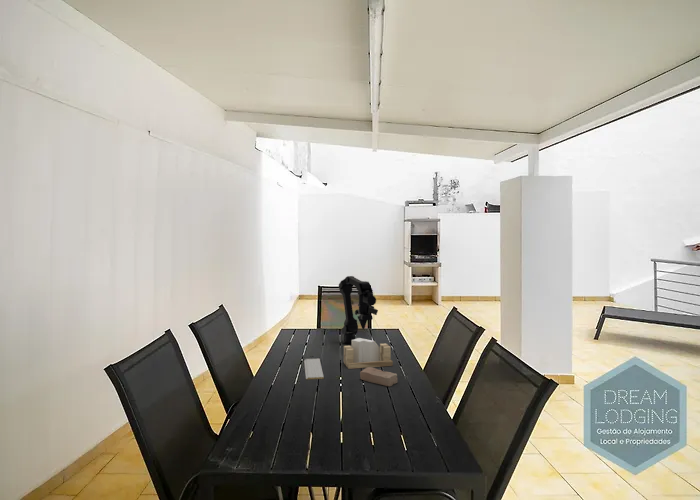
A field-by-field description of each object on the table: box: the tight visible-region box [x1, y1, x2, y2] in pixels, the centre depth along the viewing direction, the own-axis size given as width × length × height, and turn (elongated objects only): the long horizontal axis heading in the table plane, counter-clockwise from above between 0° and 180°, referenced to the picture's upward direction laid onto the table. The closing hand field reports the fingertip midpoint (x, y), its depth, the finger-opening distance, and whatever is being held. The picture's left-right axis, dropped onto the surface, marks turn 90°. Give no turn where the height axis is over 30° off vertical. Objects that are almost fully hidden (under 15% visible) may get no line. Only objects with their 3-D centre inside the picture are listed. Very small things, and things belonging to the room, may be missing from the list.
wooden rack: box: [343, 343, 394, 370], centre depth 229 cm, size 12×24×9 cm, turn 103°
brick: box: [359, 367, 398, 387], centre depth 204 cm, size 16×8×5 cm, turn 55°
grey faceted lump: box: [350, 337, 381, 363], centre depth 234 cm, size 11×11×12 cm
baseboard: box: [303, 355, 325, 380], centre depth 221 cm, size 30×3×10 cm
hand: (363, 328), depth 255 cm, fingers closed
